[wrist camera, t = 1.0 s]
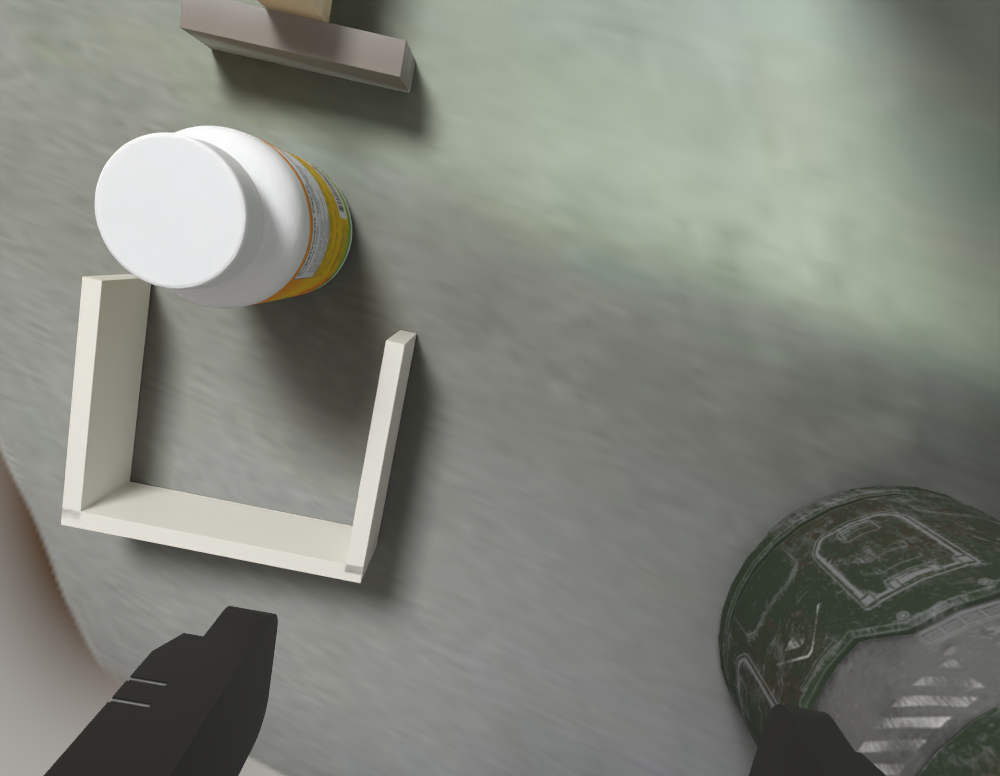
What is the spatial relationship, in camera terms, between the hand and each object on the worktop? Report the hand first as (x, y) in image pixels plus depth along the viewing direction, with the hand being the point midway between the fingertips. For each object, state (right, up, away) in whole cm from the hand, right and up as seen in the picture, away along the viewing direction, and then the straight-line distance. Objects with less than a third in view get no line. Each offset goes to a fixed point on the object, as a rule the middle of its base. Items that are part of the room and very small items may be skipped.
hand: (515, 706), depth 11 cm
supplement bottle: (-10, +13, +21) cm, 26 cm away
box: (-12, +4, +22) cm, 26 cm away
